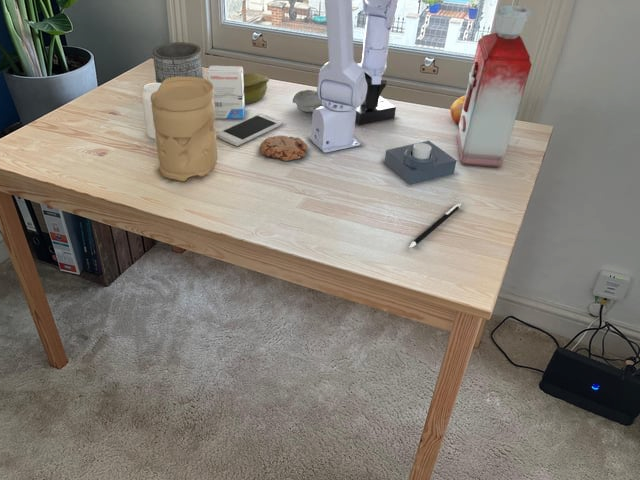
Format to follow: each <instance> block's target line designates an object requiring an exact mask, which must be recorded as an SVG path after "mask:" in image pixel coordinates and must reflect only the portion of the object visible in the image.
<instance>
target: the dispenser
mask: <svg viewBox="0 0 640 480" xmlns="http://www.w3.org/2000/svg"><path fill="white" fill-rule="evenodd" d="M417 143H418V142H416V143H412V144H407V145H402V146H397V147H393V148H388V149H385V153H384V162H383V163H384V164H385V165H386V166H387V167H388V168H390V170H392V171H393V172H394V173H395V174H397V175H398V176H399V177H400V178H401V179H403V180H404V181H405V182H406V183H407V184H409V185H414V184H418V183H422V182H426V181H430V180H435V179H438V178H443V177H446V176H451V175H454V173H455V170H456V165H457V159H456V158H454V157H453V156H451V155H450V154H448V153H447V152H445V150H443V149H442V148H440V147H439V146H437V145H436V144H434V143H433V142H432V141H431V140H425V141H420V142H419V143H425V144H428V145H430V146H431V147H432V149H431V154H430V158H428V159H418V158H414V157H413V156H412V152H413V147H414V145H415V144H417Z"/></svg>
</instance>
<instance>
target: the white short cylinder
mask: <svg viewBox="0 0 640 480" xmlns="http://www.w3.org/2000/svg"><path fill="white" fill-rule="evenodd" d="M416 143H417V144H415V143H414V144H415V145H414V147H413V152H412V156H413V157H414V158H418V159H428V158H430V154H431V149H432V147H431V146H430V145H428V144H425V143H420V142H416Z"/></svg>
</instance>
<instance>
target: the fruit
mask: <svg viewBox="0 0 640 480" xmlns="http://www.w3.org/2000/svg"><path fill="white" fill-rule="evenodd" d="M465 96H466V94H464V95H462V96H460V97H459V98H457V99H455V101H454V102H452V104H451V106H450V108H449V109H450V115H451V118H452V121H453V122H454V123H455V124H456V125H458V126H459V122H460V118H461V114H462V109H463V105H464V101H465Z"/></svg>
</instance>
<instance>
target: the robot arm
mask: <svg viewBox="0 0 640 480" xmlns="http://www.w3.org/2000/svg"><path fill="white" fill-rule="evenodd" d="M398 8H399V0H362V13H363V15H365V16H366V21H365V29H364V39H363V48H362V58H361V62H360V63H358V62H356V61H355V53H354V23H353V0H324V9H325V23H326V37H327V51H328V62H326V63H325V64H323V66H322V67H321V68H320V70H319V72H318V75H317V78H318V79H317V85H316V91H317V94H318V97H319V99H320V100H322V105H323V106H321V107H320V108H317V109H315V110H314V111H313V112H312V115H311V129H310V136H309V140H310V141H311V142H312V143H313V144H314V145H315V146H317V148H318V149H320V150H321V151H322V152H323V153H330V152H331V153H332V152H334V151H340V150H344V149H350V148H355V147H358V146H361V144H362V143H361V142H360V141H359V140H358V139H357V138H356V137H355V127H356V122H355V120H356V110H357V108H358V107H359V106H361V105H362V104H363V102H364V100H365V97H366V107H367V109H375V107H376V105H377V102H378V99H379V97H380V96H381V94H382V92H383V91H384V89H385V88H386V86H387V84H388V82H387V80H385V79H382V77H383V76H384V73H385V72H386V70H387V67H388V65H387V61H388V54H389V53H388V52H389V46H390V38H391V31H392V26H394V23H395V17H396V14H397V12H398Z"/></svg>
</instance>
